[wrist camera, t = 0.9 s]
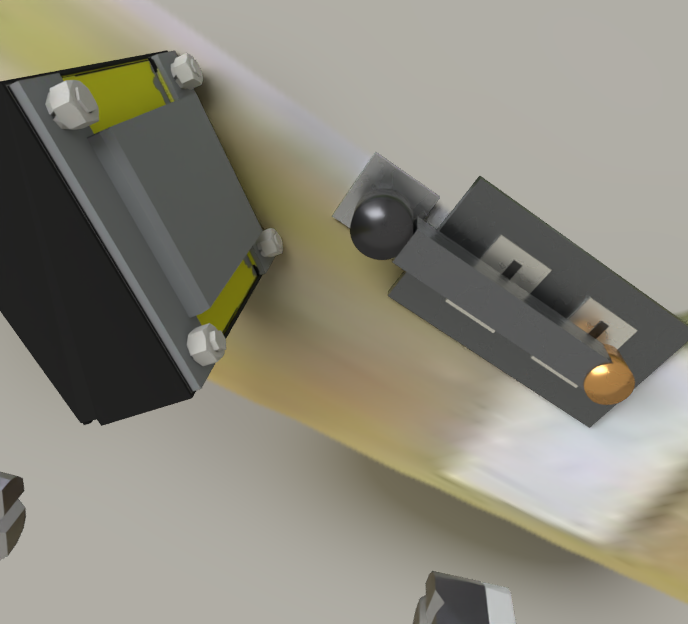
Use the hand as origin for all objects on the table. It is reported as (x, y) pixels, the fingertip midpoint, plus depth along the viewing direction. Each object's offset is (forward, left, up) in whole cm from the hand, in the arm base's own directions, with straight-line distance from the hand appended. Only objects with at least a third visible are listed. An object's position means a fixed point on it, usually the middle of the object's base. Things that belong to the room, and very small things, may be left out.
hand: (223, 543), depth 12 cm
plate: (+3, +19, -38) cm, 43 cm away
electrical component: (+10, -10, -38) cm, 41 cm away
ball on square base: (+3, +4, -38) cm, 38 cm away
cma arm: (+3, +14, -35) cm, 38 cm away
